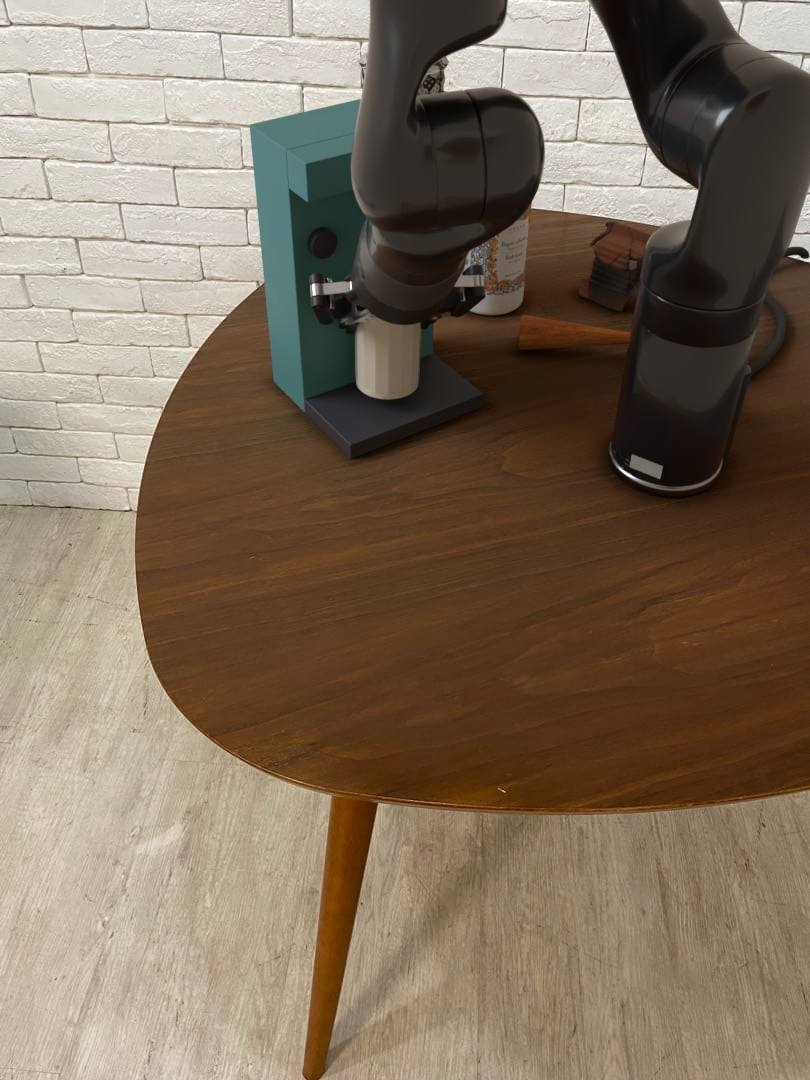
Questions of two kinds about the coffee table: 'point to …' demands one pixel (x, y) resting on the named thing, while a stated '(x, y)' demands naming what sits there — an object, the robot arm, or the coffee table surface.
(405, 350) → the container
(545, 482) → the coffee table surface
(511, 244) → the bath foam
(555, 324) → the wooden cone
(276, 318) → the coffee maker
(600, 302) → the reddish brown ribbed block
